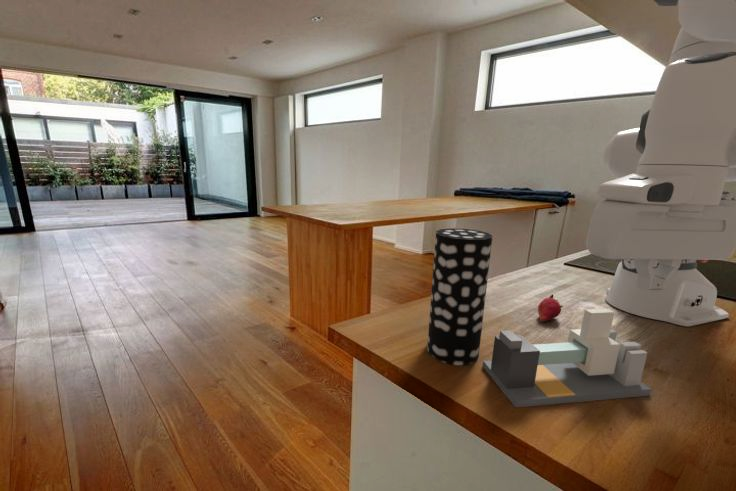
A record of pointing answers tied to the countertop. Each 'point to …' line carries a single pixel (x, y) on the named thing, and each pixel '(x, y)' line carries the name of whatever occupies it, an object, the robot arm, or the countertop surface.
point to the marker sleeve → (596, 342)
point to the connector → (514, 360)
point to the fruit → (549, 309)
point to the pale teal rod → (561, 353)
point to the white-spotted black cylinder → (458, 294)
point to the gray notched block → (628, 362)
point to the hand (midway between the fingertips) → (650, 288)
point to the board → (567, 386)
